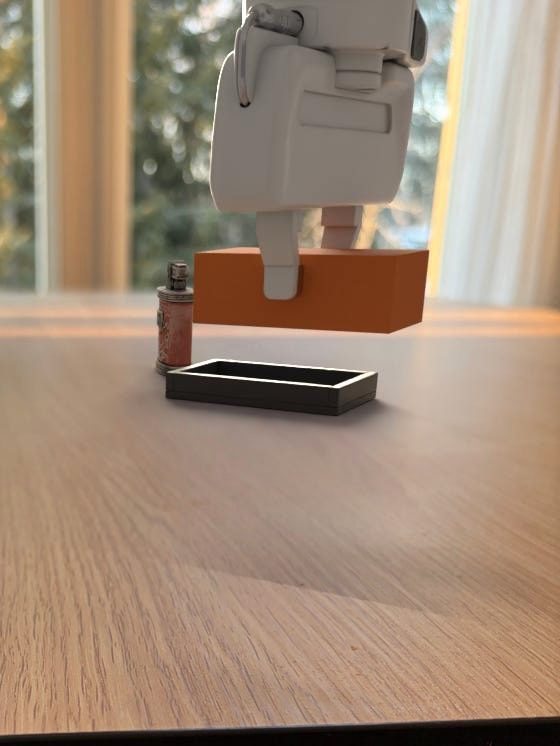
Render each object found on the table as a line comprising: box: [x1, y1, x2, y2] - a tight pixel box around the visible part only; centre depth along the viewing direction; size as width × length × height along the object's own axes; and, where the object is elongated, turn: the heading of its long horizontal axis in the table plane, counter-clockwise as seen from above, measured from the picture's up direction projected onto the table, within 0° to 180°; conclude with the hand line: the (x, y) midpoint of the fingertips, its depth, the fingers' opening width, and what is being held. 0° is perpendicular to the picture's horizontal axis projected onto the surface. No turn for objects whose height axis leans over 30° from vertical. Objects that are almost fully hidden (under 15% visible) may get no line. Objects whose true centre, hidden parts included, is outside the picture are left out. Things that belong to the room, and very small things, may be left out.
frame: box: [164, 358, 379, 416], centre depth 88 cm, size 15×9×2 cm, turn 57°
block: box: [192, 246, 430, 335], centre depth 62 cm, size 12×6×4 cm, turn 57°
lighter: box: [155, 260, 194, 376], centre depth 100 cm, size 8×3×10 cm, turn 4°
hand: (308, 293), depth 62 cm, fingers closed on block, 6 cm apart
